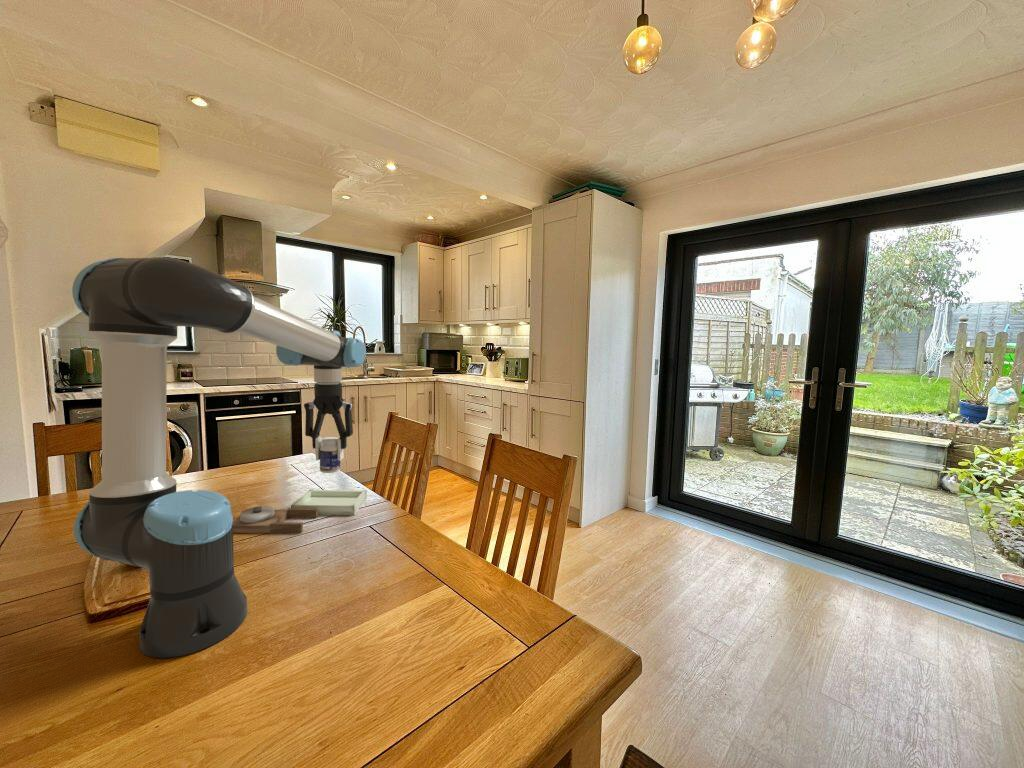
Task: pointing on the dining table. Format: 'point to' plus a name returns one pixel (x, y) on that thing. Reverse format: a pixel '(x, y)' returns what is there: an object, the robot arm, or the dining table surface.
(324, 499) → the tray
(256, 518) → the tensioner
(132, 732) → the dining table surface
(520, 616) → the dining table surface
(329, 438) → the pill bottle
